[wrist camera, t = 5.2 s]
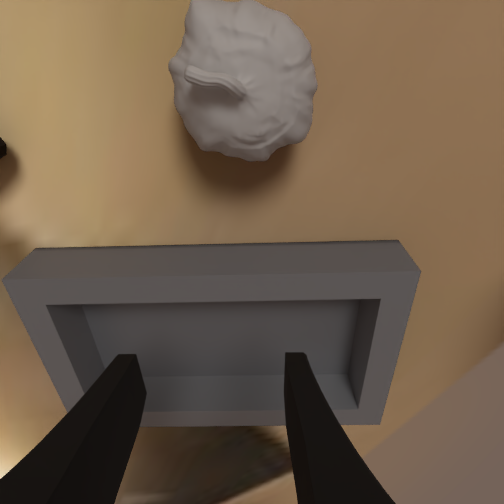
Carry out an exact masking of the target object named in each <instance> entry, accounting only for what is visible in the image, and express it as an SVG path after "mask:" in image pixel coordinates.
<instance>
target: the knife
mask: <svg viewBox="0 0 504 504" xmlns="http://www.w3.org/2000/svg"><path fill="white" fill-rule="evenodd" d="M5 155H6V143H5V142H4V141H3V140H2V139H1V138H0V158H2V157H3V156H5Z"/></svg>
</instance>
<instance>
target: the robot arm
mask: <svg viewBox="0 0 504 504" xmlns="http://www.w3.org/2000/svg"><path fill="white" fill-rule="evenodd" d="M146 395H147V391H146V388H145V384H144V380H143V377H142V373H141V370H140V366H139V362H138V359H137V355H136V354H118V355H117V356H116V357H115V358H114V359H113V361H112V362H111V363H110V364H109V365H108V367H107V368H106V369H105V370H104V371H103V373H102V374H101V375H100V376H99V377H98V379H97V380H96V381H95V382H94V383H93V385H92V386H91V387H90V388H89V389H88V391H87V392H86V393H85V394H84V395H83V396H82V397H81V398H80V400H79V401H78V402H77V403H76V404H75V405H74V406H73V408H72V409H71V410H70V411H69V412H68V413H67V414H66V415H65V416H64V418H63V419H62V420H61V421H60V422H59V423H58V424H57V425H56V426H55V427H54V428H53V429H52V430H51V431H50V432H49V433H48V434H47V435H46V436H45V438H44V439H43V440H42V441H41V442H40V443H39V444H38V445H37V446H36V447H35V448H34V449H32V450H31V451H30V452H29V453H28V454H27V455H26V456H25V457H24V458H23V459H22V460H21V461H20V462H19V463H18V464H17V465H16V466H15V467H13V468H12V469H11V470H10V471H9V472H8V473H7V474H6V475H5V476H3V477H2V478H1V479H0V504H114V503H115V499H116V496H117V493H118V490H119V487H120V484H121V481H122V478H123V475H124V472H125V469H126V466H127V463H128V460H129V457H130V454H131V451H132V448H133V445H134V442H135V439H136V436H137V433H138V430H139V427H140V424H141V419H142V415H143V410H144V405H145V400H146ZM284 406H285V421H286V429H287V435H288V442H289V448H290V454H291V461H292V467H293V474H294V480H295V486H296V493H297V500H298V504H395V502H394V501H393V500H392V499H391V497H390V496H389V495H388V494H387V493H386V491H385V490H384V489H383V487H382V486H381V484H380V483H379V482H378V480H377V479H376V478H375V476H374V475H373V474H372V472H371V471H370V470H369V468H368V467H367V465H366V464H365V462H364V461H363V459H362V458H361V457H360V455H359V454H358V452H357V451H356V449H355V448H354V446H353V444H352V443H351V441H350V440H349V438H348V437H347V435H346V433H345V432H344V430H343V428H342V427H341V425H340V423H339V422H338V420H337V418H336V417H335V415H334V413H333V411H332V409H331V408H330V406H329V404H328V402H327V400H326V398H325V396H324V394H323V393H322V391H321V389H320V386H319V384H318V382H317V380H316V378H315V376H314V373H313V371H312V369H311V366H310V364H309V361H308V358H307V355H306V354H305V353H304V352H285V371H284Z"/></svg>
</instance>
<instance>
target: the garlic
mask: <svg viewBox="0 0 504 504" xmlns="http://www.w3.org/2000/svg"><path fill="white" fill-rule="evenodd" d="M168 68H169V71H170V73H171V76H172V79H173V82H174V86H175V87H174V104H175V107H176V109H177V111H178V113H179V114H180V115H181V117H182V119H183V122H184V125H185V127H186V129H187V131H188V132H189V134H190V135H191V136H192V137H193V138H194V140H195V141H196V143H197V145H198V146H199V148H200V149H201V150H203V151H217V152H220V153H222V154H224V155H225V156H230V157H239V158H242V159H244V160H246V161H250V162H252V161H266V160H268V159H269V157H270V155H271V154H272V153H273V152H275V150H276V149H278V148H280V147H284V146H286V145H288V144H297V143H299V142H302V141H303V140H304V139H305V137H306V136H307V134H308V132H309V129H310V127H311V124H312V113H313V103H312V99H313V96H314V94H315V92H316V90H317V80H316V76H315V68H314V65H313V63H312V60H311V45H310V43H309V41H308V40H307V38H306V37H305V35H304V33H303V31H302V30H301V29H300V28H299V27H298V26H297V25H295V24H294V23H293V21H292V20H291V18H290V17H289V16H288V15H286V14H284V13H282V12H280V11H276V10H273V9H270V8H267V7H265V6H264V5H262V4H260V3H258V2H256V1H254V0H242V1H239V2H225V1H222V0H191V2H190V6H189V9H188V12H187V14H186V17H185V34H184V36H183V40H182V45H181V47H180V49H179V50H178V52H177V53H176V55H175V56H174V57H173V58H172V59H170V61H169V64H168Z"/></svg>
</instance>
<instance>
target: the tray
mask: <svg viewBox="0 0 504 504" xmlns="http://www.w3.org/2000/svg"><path fill="white" fill-rule="evenodd" d="M420 273H421V270H420V269H419V268H418V266H417V265H416V264H415V262H414V261H413V259H412V258H411V257H410V255H409V254H408V253H407V251H406V250H405V248H404V247H403V246H402V244H401V243H400V242H399V240H377V241H333V242H288V243H243V244H199V245H154V246H110V247H65V248H35V249H34V250H33V251H32V252H31V253H30V254H29V255H28V256H27V257H25V258H24V259H23V260H22V261H21V262H20V263H19V264H18V265H17V266H16V267H15V268H14V269H13V270H11V271H10V272H9V273H8V274H7V275H6V276H5V277H4V278H3V279H2V282H3V284H4V286H5V288H6V290H7V292H8V294H9V296H10V298H11V300H12V302H13V304H14V306H15V308H16V310H17V312H18V314H19V316H20V318H21V320H22V322H23V324H24V326H25V328H26V330H27V332H28V334H29V336H30V338H31V340H32V342H33V344H34V346H35V348H36V350H37V352H38V354H39V356H40V358H41V360H42V362H43V364H44V366H45V368H46V370H47V372H48V374H49V376H50V378H51V380H52V382H53V384H54V386H55V388H56V390H57V392H58V394H59V396H60V398H61V400H62V402H63V404H64V406H65V408H66V410H67V412H69V411H70V410H71V409H72V408H73V406H74V405H75V404H76V403H77V402H78V401H79V400H80V398H81V397H82V396H83V395H84V394H85V393H86V392H87V391H88V389H89V388H90V387H91V386H92V385H93V383H94V382H95V381H96V380H97V379H98V377H99V376H100V375H101V374H102V373H103V371H104V370H105V369H106V368H107V367H108V365H109V364H110V363H111V362H112V361H113V359H114V358H115V357H116V356H117V355H118V354H136V355H137V359H138V362H139V366H140V370H141V373H142V377H143V380H144V384H145V388H146V391H147V395H146V400H145V405H144V410H143V415H142V419H141V424H140V427H182V426H281V425H286V421H285V406H284V371H285V352H304V353H305V354H306V355H307V358H308V361H309V364H310V366H311V369H312V371H313V373H314V376H315V378H316V380H317V382H318V384H319V386H320V389H321V391H322V393H323V394H324V396H325V398H326V400H327V402H328V404H329V406H330V408H331V409H332V411H333V413H334V415H335V417H336V418H337V420H338V422H339V423H340V425H380V422H381V419H382V415H383V411H384V408H385V404H386V400H387V396H388V393H389V389H390V385H391V381H392V378H393V374H394V370H395V367H396V363H397V359H398V355H399V352H400V348H401V344H402V340H403V337H404V333H405V329H406V325H407V322H408V318H409V314H410V311H411V307H412V303H413V299H414V296H415V292H416V288H417V284H418V281H419V277H420Z"/></svg>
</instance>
